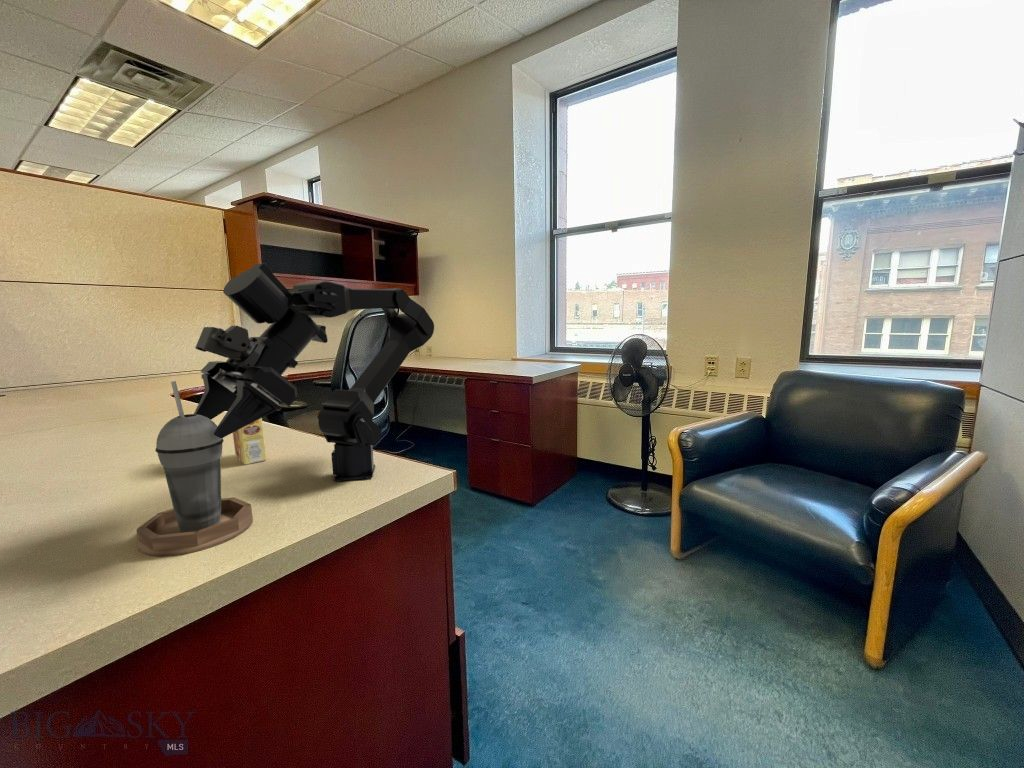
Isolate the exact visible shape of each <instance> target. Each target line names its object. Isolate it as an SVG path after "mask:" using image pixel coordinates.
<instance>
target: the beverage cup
mask: <svg viewBox="0 0 1024 768" xmlns="http://www.w3.org/2000/svg"><path fill="white" fill-rule="evenodd" d="M170 384H171V389H172V392H173V395H174V400H175V404H176V408H177V411H178V416H176V417H173V418H171V419H170V420H169V421H167V422H166V423H165V424H164V425H163V426H162V428H161V429H160V431H159V433H158V435H157V438H156V445H155V446H156V447H155V452H156V453H157V457H158V459H159V462H160V464H161V466H162V468H163V472H164V476H165V480H166V484H167V489H168V491H169V496H170V501H171V504H172V509H174V513H175V517H176V521H177V523H178V526H179V528H180V533H186V532H195V531H199V530H202V529H205V528H207V527H210V526H213V525H216V524H218V523H221V520H220V518H221V499H222V466H221V465H222V464H221V463H222V460H221V459H222V458H221V457H222V455H223V443H224V441H225V440H224V438H219V437H217V436H215V435H214V432H215V430H216V428H217V427H218V425H217V424H216V423H215V422H214V421H213V419H211V420H210V419H209V418H207V417H205V416H202V415H198V414H194V413H189V414H188V413H187V414H185V413H184V409H183V408H184V407H183V405H182V400H181V398H180V397H181V396H180V393H179V389H178V385H177V381H176V380H174V381H171V382H170Z"/></svg>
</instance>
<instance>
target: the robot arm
mask: <svg viewBox="0 0 1024 768" xmlns="http://www.w3.org/2000/svg"><path fill="white" fill-rule="evenodd" d="M222 291H223V292H222V293H223V295H225V296H226V297H227V298H228V299H229V300H230V301H231V302H232V303H234V304H235V305H236V306H237V307H238V308H239V309H240V310H241V311H242V312H243V313H245V315H247V317H249V318H250V319H251V320H252V321H253V322H254V323H255V324H264V323H266V324H269V326H268V327H267V328H266V329H265V330H264V331H263V332H262V333H261V334H260V336H251V337H249V331H248V329H246V328H244V327H242V326H239V325H230V326H229V327H228V328H226V329H223V328H221V327H214V326H203V328H202V331H201V333H200V335H199V338H198V340H197V342H196V344H195V347H194V349H195V350H198V351H200V352H204V353H205V352H208V353H212V354H214V355H217V356H220V357H223V358H226V360H225V361H224V360H223V361H222V360H220V361H219V360H216V361H214V360H213V361H208V362H207V363H206V365H204V366H203V368H202V369H201V370H200V372H201V373H202V374H201V379H202V380H203V384H204V391H203V394H202V395H201V399H200V400H199V403H198V404H197V407H196V408H195V411H194V412H193V414H198V415H202V416H205V417H207V418H209V419H210V420H213V419H214V418H216V417H217V416H219V415H221V414H222V413H224V412H226V411H227V412H226V413H225V415H224V416H223V417H222V419H221V420H220V422H219V424H218V425H217V426H218V427H217V428H216V430H215V432H214V435H215V436H217V437H219V438H223V439H224V438H225V437H227V436H229V435H232V434H233V432H235V431H237V430H239V429H241V428H243V427H245V426H246V425H248V424H250V423H252V422H254V421H256V420H258V419H260V418H262V419H263V418H265V417H267V416H269V415H270V414H273V413H275V412H277V411H278V412H279V411H281V410H283V407H285V408H290V407H291V405H293V403H294V402H295V400H296V399H297V398H298V390H297V389H298V388H297V386H295V385H294V384H293V383H292V382H290V380H288V379H287V378H285V376H283V374H285V372H286V371H287V370H288V369H289V368H290V369H295V368H296V367H297V365H298V364H299V362H298V361H297V360H296V359H297V358H298V357H299V355H300V354H302V352H303V351H304V350H305V348H306V347H308V344H310V343H311V342H318V343H323V344H327V343H328V335H327V332H326V331H327V330H326V329H327V326H326V325H320V324H317V323H316V322H315V321H314V319H329V318H330V319H331V318H335V317H339V316H342V315H345V314H348V313H349V312H351V311H356V310H372V309H374V310H376V309H381V310H382V311H383V314H384V319H385V323H386V324H387V325H388V327H389V328H388V339H387V341H386V342H385V344H384V345H383V347H382V348H381V349H380V350H379V351H378V352H377V354H376V356H375V357H374V358H373V359H372V361H371V362H370V363H369V364H368V366H367V367H366V368H365V370H363V372H362V373H361V375H360V376H359V377H358V378H357V380H356V381H355V382H354V384H353V385H352V386H351V387H350V388H349V389H347V390H346V389H337V388H336V389H334V390H333V391H332V392H331V393H330V395H328V398H327V399H326V400H325V401H324V402H323V403H321V404H320V407H322V408H321V409H320V411H319V412H318V414H317V419H318V428H319V429H320V431H321V433H323V435H324V438H325V440H326V443H328V444H329V443H334V445H333V450H332V452H331V455H330V456H331V465H332V466H331V468H332V475H333V476H334V481H335V482H340V481H341V482H343V481H353V480H363V479H364V478H366V479H372V478H373V477H374V474H373V473H375V471H376V470H375V469H376V464H374V449H373V448H374V447H373V446H374V445H376V443H378V442H380V441H381V437H382V436H381V435H382V430H383V429H381V428H380V427H379V426H378V425H377V424H376V423H375V422H374V421H373V419H374V416H375V402H376V401H377V399H378V398H379V397H380V396H381V394H382V393H383V391H384V390H385V388H386V387H387V385H388V384H389V382H390V381H391V379H392V378H393V377H394V376H395V374H396V373H397V371H398V370H399V369H400V367H401V366H402V364H403V363H404V361H405V360H406V358H407V357H408V356H409V354H410V353H411V352H413V351H415V350H417V349H419V348H421V347H423V346H424V345H425V344H426V343H427V342H428V341H429V340H430V339H431V338H432V336H433V335H434V332H435V323H434V321H433V320H432V317H431V316H430V315H429V314H428V312H427V311H426V310H425V308H424V307H423V306H422V305H420V304H418V302H416V301H415V300H413V299H412V298H410V296H409V295H408V293H407V292H406V291H405V290H404V289H402V288H399V287H398V288H396V287H395V288H382V289H381V288H379V289H378V288H374V289H373V288H368V289H366V288H350V287H347V286H346V285H344V284H341V283H340V284H339V283H337V282H333V281H328V280H325V281H324V280H323V281H312V282H311V281H310V282H300V283H296V284H294V285H293V287H292V289H288V288H287V287H286V286H285V285H284V284H283V283H282V282H281V281H280V280H279V279H278V278H277V277H276V276H275V275H274V273H273V271H272V270H271V268H270V267H269V266H268V265H267V264H266V263H264V262H263V263H262V262H261V263H255V264H254V263H253V265H252V267H251V268H249V269H247V270H244V271H243V272H241V273H240V274H238V275H236V277H232V278H230V279H229V280H228V281H227V283H226V284H225V286H224V287H223V290H222ZM396 310H399V311H401V312H402V313H398V311H396ZM229 408H230V409H229ZM371 477H372V478H371ZM364 480H365V479H364Z"/></svg>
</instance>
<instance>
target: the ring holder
mask: <svg viewBox="0 0 1024 768" xmlns="http://www.w3.org/2000/svg"><path fill="white" fill-rule="evenodd" d="M252 510H253V509H252V503H249V502H246V501H244V500H242V499H240V498H237V497H226V498H225V497H223V498H222V497H221V518H220V520H221V523H218V524H216V525H213V526H210V527H207V528H205V529H202V530H199V531H195V532H186V533H180V528H179V526H178V523H177V521H176V517H175V513H174V509H173V508H169V509H167V510H163V511H161V512H158V513H156V514H155V515H154V516H152V517H150V519H147V521H146V522H144V523H142V524H141V525H139V526H138V528H136V534H137V547H138V550H139V551H140V552H141V553H142V554H145V555H147V556H152V557H153V556H154V557H169V556H180V555H184V554H191V553H194V552H199V551H203V550H206V549H209V548H212V547H216V546H218V545H221V544H223V543H226V542H228V541H231V540H232V539H235V538H236V537H238V536H240V535H241V534H243V533H245V531H247V530H248V529H249V528H250V527H251V526H252V524H253V522H254V515H253V511H252Z"/></svg>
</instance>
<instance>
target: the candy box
mask: <svg viewBox="0 0 1024 768" xmlns="http://www.w3.org/2000/svg"><path fill="white" fill-rule="evenodd" d="M229 409H230V408H229ZM229 409H228V410H229ZM232 438H233V439H232V441H233V445H234V455H235V456H236V458H238V459H239V460H240V462H242V463H243V464H244V465H250V464H255V463H258V462H259V463H261V462H264V461H267V454H266V452H267V451H266V445H265V444H266V443H265V435H264V424H263V417H262V418H260V419H258V420H256V421H254V422H252V423H250V424H248V425H246V426H245V427H243V428H241V429H239V430H237V431H235V432H233V433H232Z"/></svg>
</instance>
